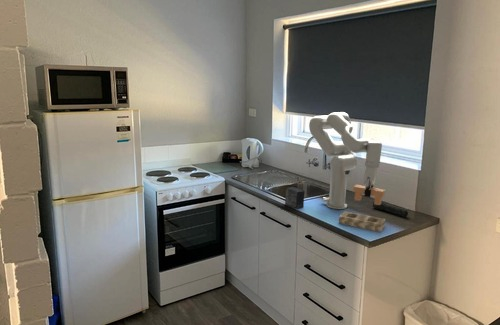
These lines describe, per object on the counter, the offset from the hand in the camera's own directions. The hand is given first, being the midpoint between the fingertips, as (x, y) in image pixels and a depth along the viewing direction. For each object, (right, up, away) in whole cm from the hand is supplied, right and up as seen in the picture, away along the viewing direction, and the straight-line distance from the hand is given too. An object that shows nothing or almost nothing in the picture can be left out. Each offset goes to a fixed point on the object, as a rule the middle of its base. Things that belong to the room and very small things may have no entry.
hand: (368, 194), depth 215 cm
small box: (-39, -8, +20) cm, 45 cm away
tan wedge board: (0, -4, +1) cm, 4 cm away
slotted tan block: (-6, -15, -9) cm, 19 cm away
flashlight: (+16, -12, +13) cm, 24 cm away
